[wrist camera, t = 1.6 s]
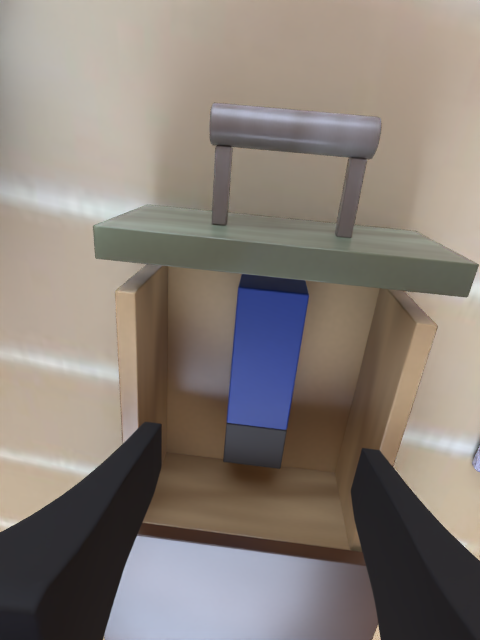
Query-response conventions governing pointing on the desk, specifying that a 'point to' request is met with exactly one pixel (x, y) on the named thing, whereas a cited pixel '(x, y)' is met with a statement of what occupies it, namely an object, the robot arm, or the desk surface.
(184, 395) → the drawer
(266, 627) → the cabinet
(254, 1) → the desk surface
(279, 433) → the eraser
